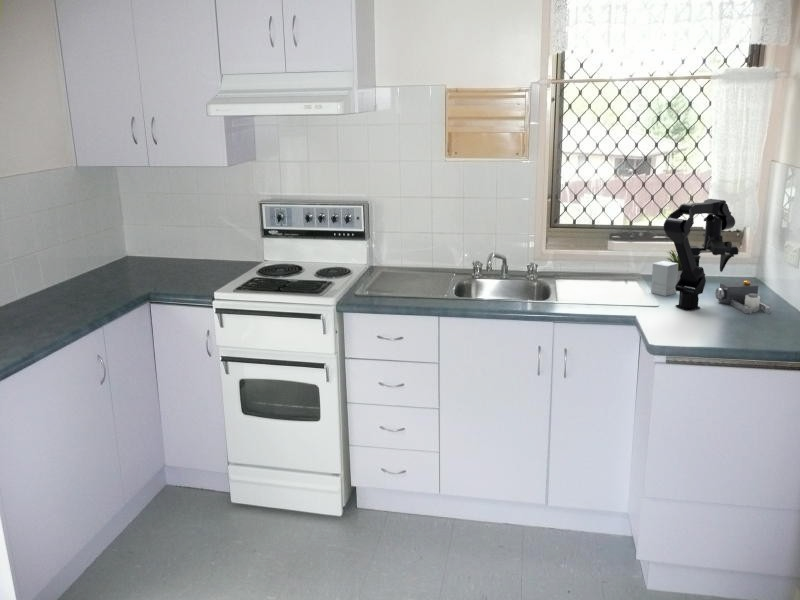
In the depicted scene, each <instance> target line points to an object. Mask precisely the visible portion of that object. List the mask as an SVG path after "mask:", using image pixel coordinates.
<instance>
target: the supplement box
mask: <svg viewBox="0 0 800 600" xmlns="http://www.w3.org/2000/svg"><path fill="white" fill-rule="evenodd" d="M677 276H678V263H673V262H672V261H669V260H668V261H667V260H661V261H657V262H656V261H655V262H653V263H652V271H651V286H650V287H651V288H650V294H656V295H660V296H664V297H667V296H671V295H674V294H677V291H676V289H675V286H676V284H677Z"/></svg>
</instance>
